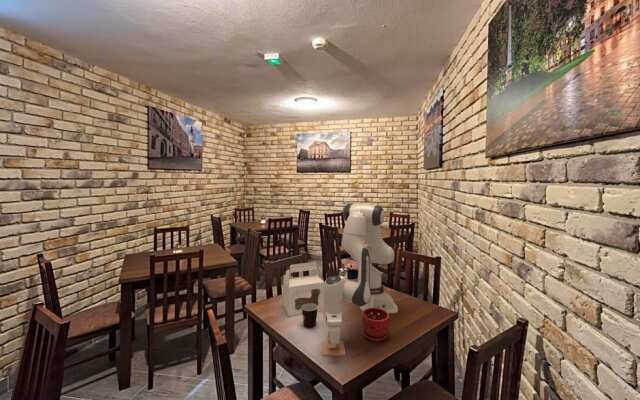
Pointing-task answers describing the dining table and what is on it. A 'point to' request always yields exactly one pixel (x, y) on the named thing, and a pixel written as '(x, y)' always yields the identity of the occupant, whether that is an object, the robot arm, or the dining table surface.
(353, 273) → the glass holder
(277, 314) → the dining table surface
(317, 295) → the gable box
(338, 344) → the beech cube
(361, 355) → the dining table surface
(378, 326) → the plant pot
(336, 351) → the plate
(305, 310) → the coffee mug
